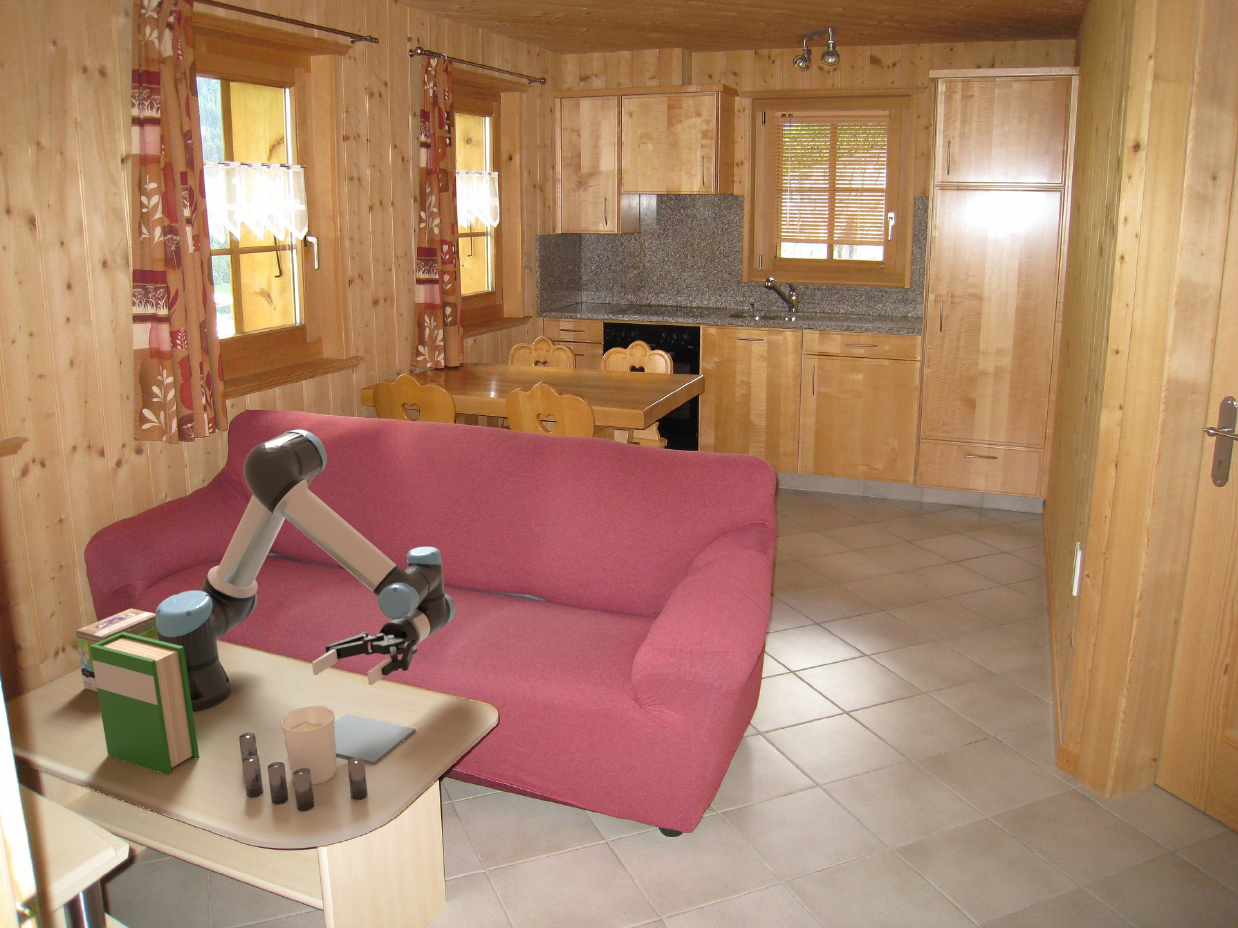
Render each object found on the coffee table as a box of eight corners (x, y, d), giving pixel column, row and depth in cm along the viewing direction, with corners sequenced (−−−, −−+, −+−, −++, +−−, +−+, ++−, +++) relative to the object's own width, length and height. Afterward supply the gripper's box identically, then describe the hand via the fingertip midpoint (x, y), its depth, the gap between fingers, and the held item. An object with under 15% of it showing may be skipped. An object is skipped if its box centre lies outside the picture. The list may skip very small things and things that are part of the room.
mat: (301, 747, 204) (301, 744, 204) (345, 716, 216) (345, 713, 216) (374, 764, 197) (374, 761, 197) (415, 731, 209) (415, 728, 209)
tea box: (113, 696, 228) (103, 636, 225) (83, 689, 232) (73, 629, 229) (167, 669, 241) (159, 612, 238) (138, 662, 246) (129, 606, 242)
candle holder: (294, 761, 199) (287, 706, 196) (344, 758, 199) (339, 703, 196) (282, 789, 189) (275, 732, 186) (335, 786, 190) (329, 728, 187)
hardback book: (199, 756, 202) (183, 646, 196) (168, 775, 195) (151, 661, 189) (139, 738, 209) (123, 631, 204) (108, 755, 203) (89, 645, 197)
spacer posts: (214, 788, 190) (210, 754, 188) (250, 763, 199) (246, 731, 197) (337, 820, 179) (334, 785, 177) (370, 792, 187) (367, 759, 186)
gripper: (454, 655, 214) (395, 700, 195) (359, 640, 223) (294, 681, 205) (451, 623, 212) (391, 664, 193) (355, 609, 222) (289, 647, 203)
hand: (341, 673), depth 199 cm, fingers open, 13 cm apart
